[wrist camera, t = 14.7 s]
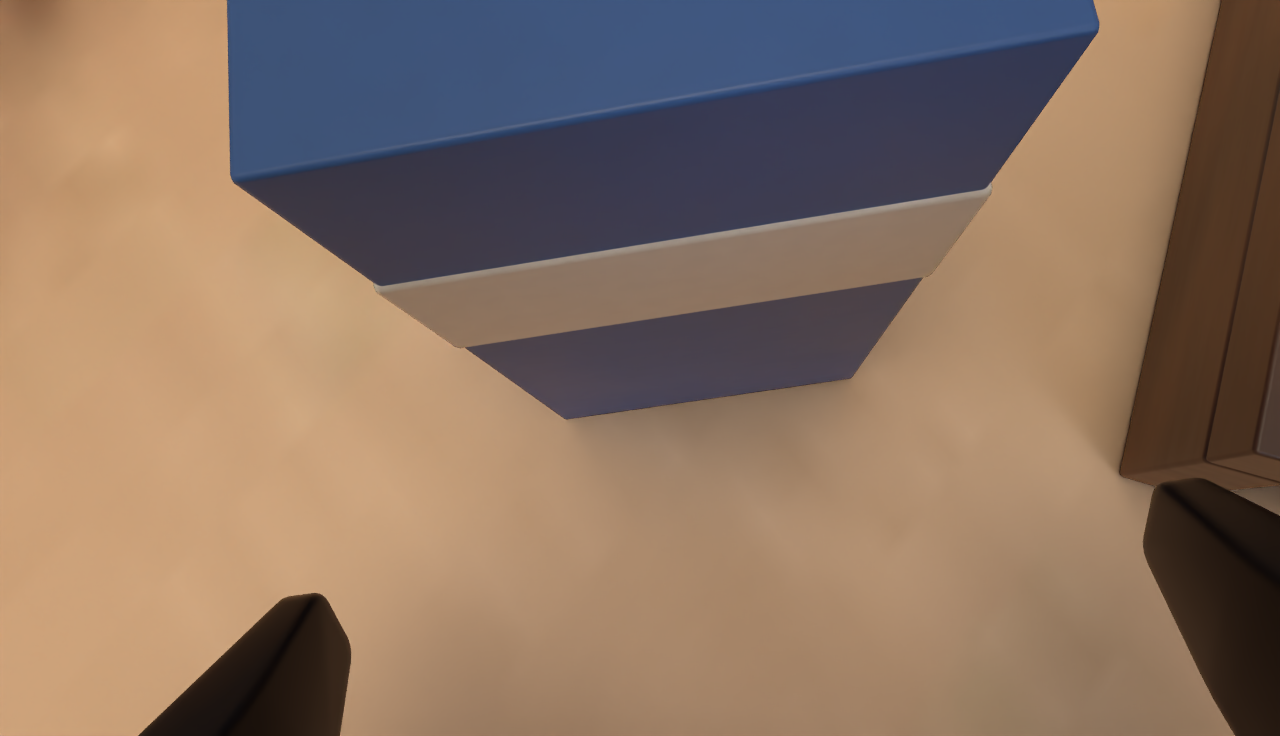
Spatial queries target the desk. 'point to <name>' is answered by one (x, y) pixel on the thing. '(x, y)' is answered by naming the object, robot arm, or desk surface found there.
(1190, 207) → the shelf
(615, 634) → the desk surface
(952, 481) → the desk surface
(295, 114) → the box
